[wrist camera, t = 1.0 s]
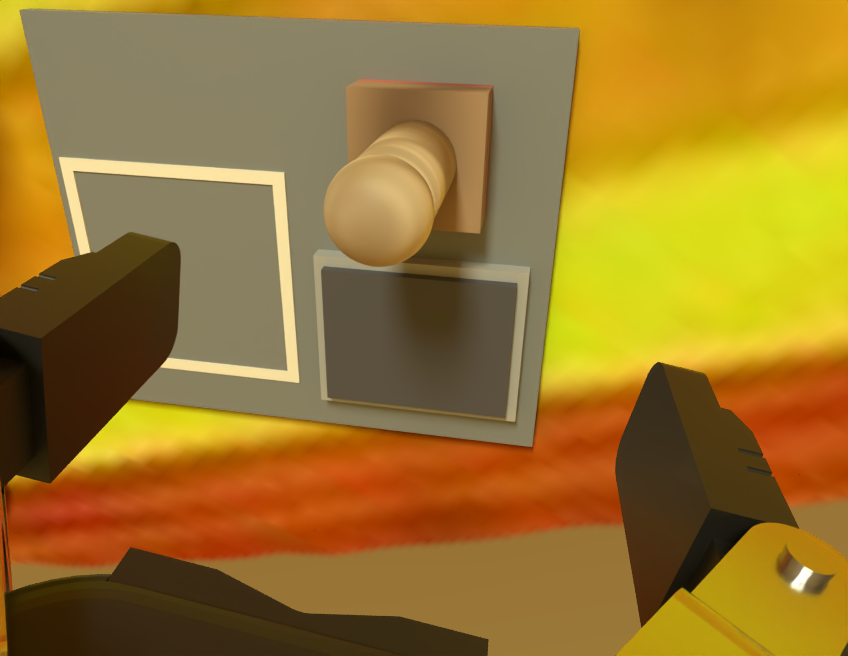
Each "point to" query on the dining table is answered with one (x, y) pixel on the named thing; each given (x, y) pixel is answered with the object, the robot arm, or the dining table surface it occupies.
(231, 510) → the dining table surface
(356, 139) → the stamp
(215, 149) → the desk board
